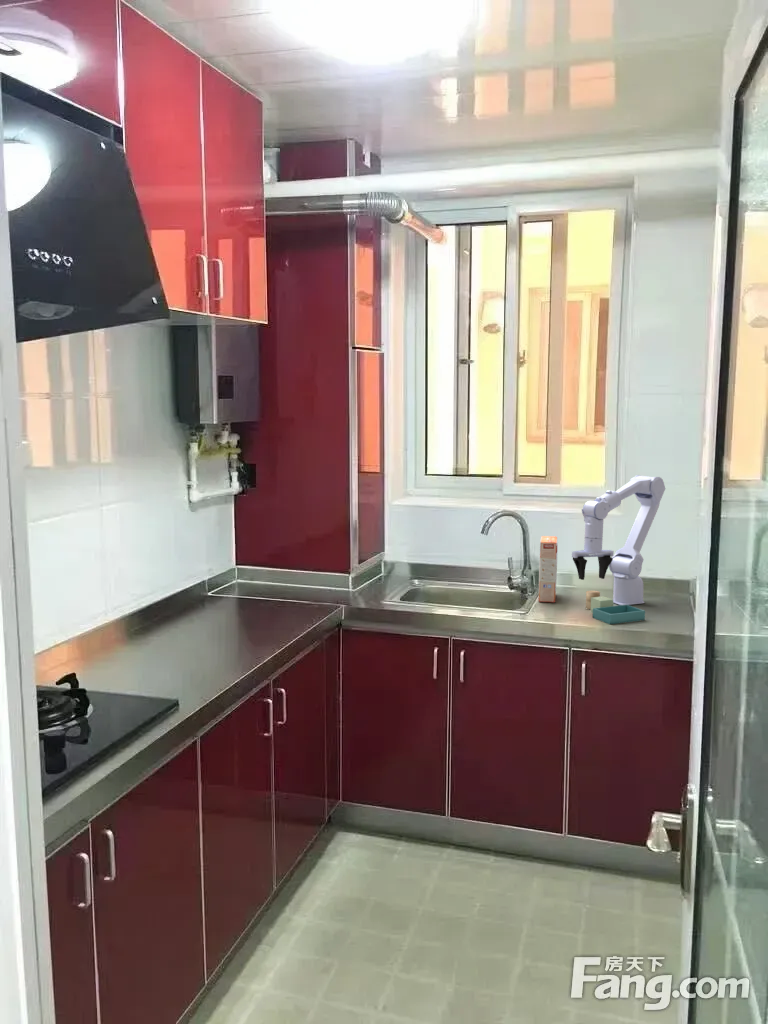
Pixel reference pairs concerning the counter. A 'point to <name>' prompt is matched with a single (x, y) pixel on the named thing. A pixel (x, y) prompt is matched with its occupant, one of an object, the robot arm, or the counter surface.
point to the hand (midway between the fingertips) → (591, 578)
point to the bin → (618, 614)
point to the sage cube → (600, 602)
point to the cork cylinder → (590, 595)
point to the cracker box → (548, 569)
